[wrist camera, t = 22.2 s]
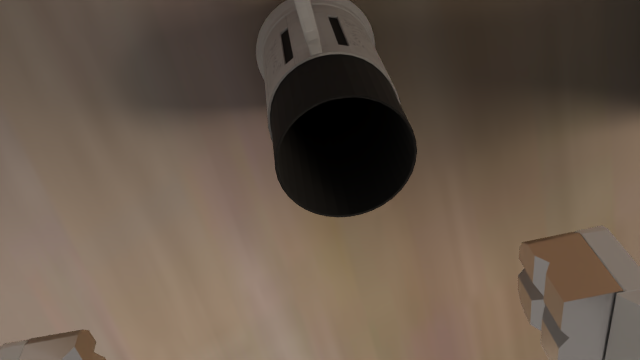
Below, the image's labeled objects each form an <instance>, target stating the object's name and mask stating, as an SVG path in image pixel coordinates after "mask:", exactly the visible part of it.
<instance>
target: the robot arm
mask: <svg viewBox="0 0 640 360" xmlns="http://www.w3.org/2000/svg"><path fill="white" fill-rule="evenodd" d="M519 260H520V261H521V263H522V265H523V267H524V269H523V270H522V272H521V273H520V274H519V275H518V292H519V297H520V302H521V305H522V308H523V310H524V313H525V315H526V317H527V319H528V321H529V323H530V325H532V326H534V327H535V328H537V329H539V330H541V342H540V344H541V345H542V347H543V349H544V351H545V353H546V355H547V356H548V358H549V360H640V266H639V265H638V264H637V263H636V262H635V260H634V259H633V258H632V257H631V256H630V254H629V253H628V252H627V251H626V250H625V249H624V247H623V246H622V245H621V244H620V243H619V241H618V240H617V239H616V238H615V237H614V235H613V234H612V233H611V232H610V231H609V229H608V228H606V227H604V226H597V227H593V228H588V229H583V230H578V231H575V232H569V233H565V234H560V235H555V236H550V237H545V238H540V239H536V240H531V241H526V242H522V243H521V245H520V248H519ZM95 345H96V341H95V339H94V338H93V336H92V335H91V333H90V332H89V330H77V331H71V332H66V333H60V334H54V335H48V336H42V337H37V338H31V339H29V340H23V341H17V342H11V343H5V344H3V345H2V346H1V347H0V360H106V359H105V357H103V356H101V355H99V354H97V353H95V352H94V349H95Z"/></svg>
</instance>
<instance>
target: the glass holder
mask: <svg viewBox="0 0 640 360" xmlns="http://www.w3.org/2000/svg"><path fill="white" fill-rule="evenodd" d="M256 60H257V64H258V68H259V71H260V73H261V75H262V77H263V79H264V81H265V93H266V105H267V117H268V128H269V132H270V136H271V140H272V142H273V149H274V160H275V170H276V174H277V178H278V181H279V183H280V185H281V187H282V189H283V190H284V191H285V193H286V194H287V195H288V197H289V198H291V199H292V200H293V201H294V202H295V203H296V204H298V205H299V206H301V207H302V208H304V209H306V210H308V211H310V212H313V213H315V214H319V215H324V216H329V217H350V216H355V215H360V214H364V213H366V212H369V211H372V210H374V209H376V208H378V207H380V206H382V205H384V204H385V203H386V202H388V201H389V200H391V199H392V198H393V197H394V196H395V195H396V194H397V193H398V192H399V191H401V189H402V188H403V187H404V185H405V184H406V183H407V181H408V179H409V177H410V176H411V174H412V172H413V168H414V165H415V162H416V154H417V147H416V139H415V136H414V133H413V130H412V128H411V126H410V124H409V122H408V120H407V118H406V116H405V114H404V112H403V110H402V108H401V104H400V99H399V96H398V93H397V90H396V88H395V86H394V84H393V83H392V81H391V79H390V77H389V75H388V73H387V71H386V69H385V67H384V65H383V63H382V61H381V59H380V57H379V55H378V53H377V51H376V49H375V40H374V34H373V31H372V27H371V25H370V23H369V21H368V19H367V17H366V16H365V15H364V13H363V12H362V11H361V10H360V9H359V8H358V7H357V6H356V5H355V4H354V3H352V2H351V1H349V0H286V1H284V2H283V3H281V4H280V5H278V6H277V7H276V8H275V9H274V10H273V11H272V12H271V13H270V14H269V16H268V17H267V18H266V19H265V21H264V23H263V25H262V27H261V29H260V31H259V34H258V37H257V43H256Z"/></svg>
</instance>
